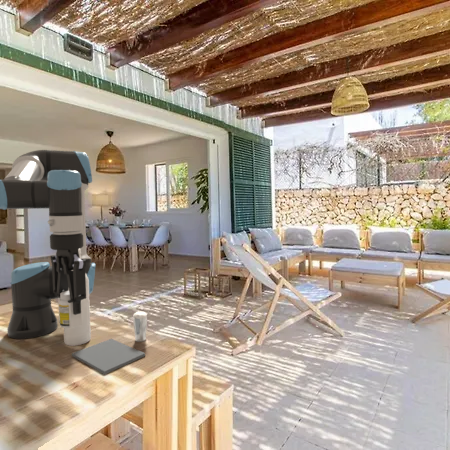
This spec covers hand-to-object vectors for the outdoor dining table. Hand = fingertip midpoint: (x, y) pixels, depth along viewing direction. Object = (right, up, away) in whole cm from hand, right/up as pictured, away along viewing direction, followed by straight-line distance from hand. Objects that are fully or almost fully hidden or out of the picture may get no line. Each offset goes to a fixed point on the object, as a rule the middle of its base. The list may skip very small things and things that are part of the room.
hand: (70, 323), depth 84 cm
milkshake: (+12, -12, +23) cm, 29 cm away
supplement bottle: (0, -1, 0) cm, 1 cm away
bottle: (-8, -13, +23) cm, 27 cm away
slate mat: (+6, -13, +12) cm, 18 cm away
